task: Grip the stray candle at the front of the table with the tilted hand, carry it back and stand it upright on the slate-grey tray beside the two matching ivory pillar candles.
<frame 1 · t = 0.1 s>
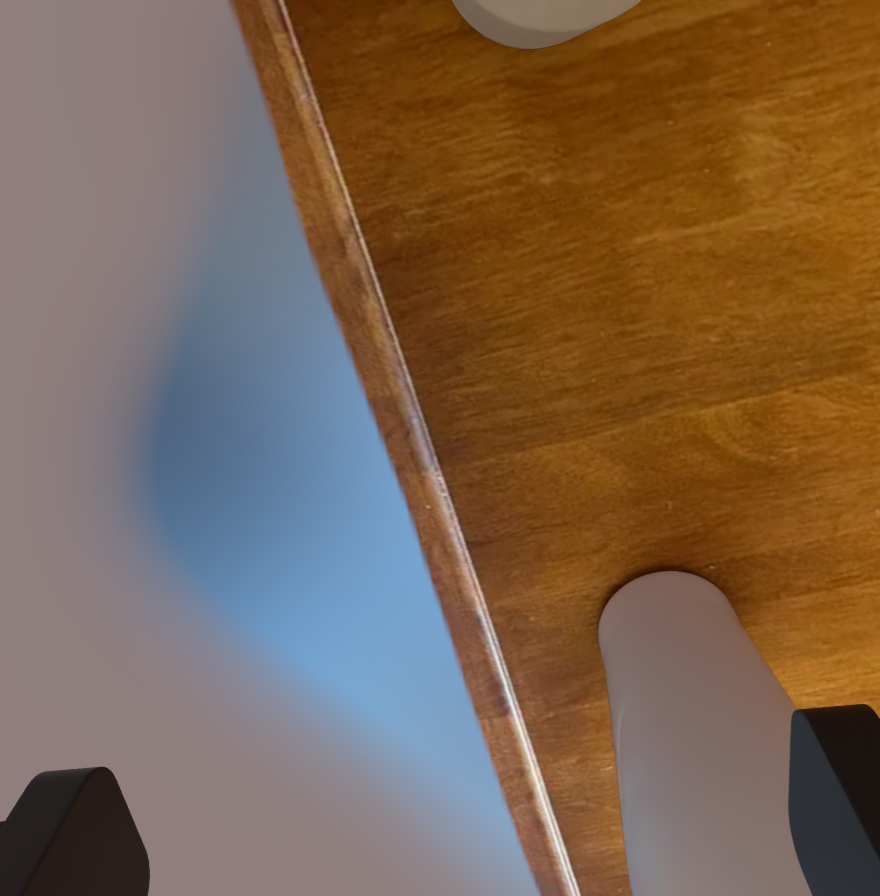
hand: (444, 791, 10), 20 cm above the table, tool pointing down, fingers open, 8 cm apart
drinking glass: (661, 618, 33), on the table
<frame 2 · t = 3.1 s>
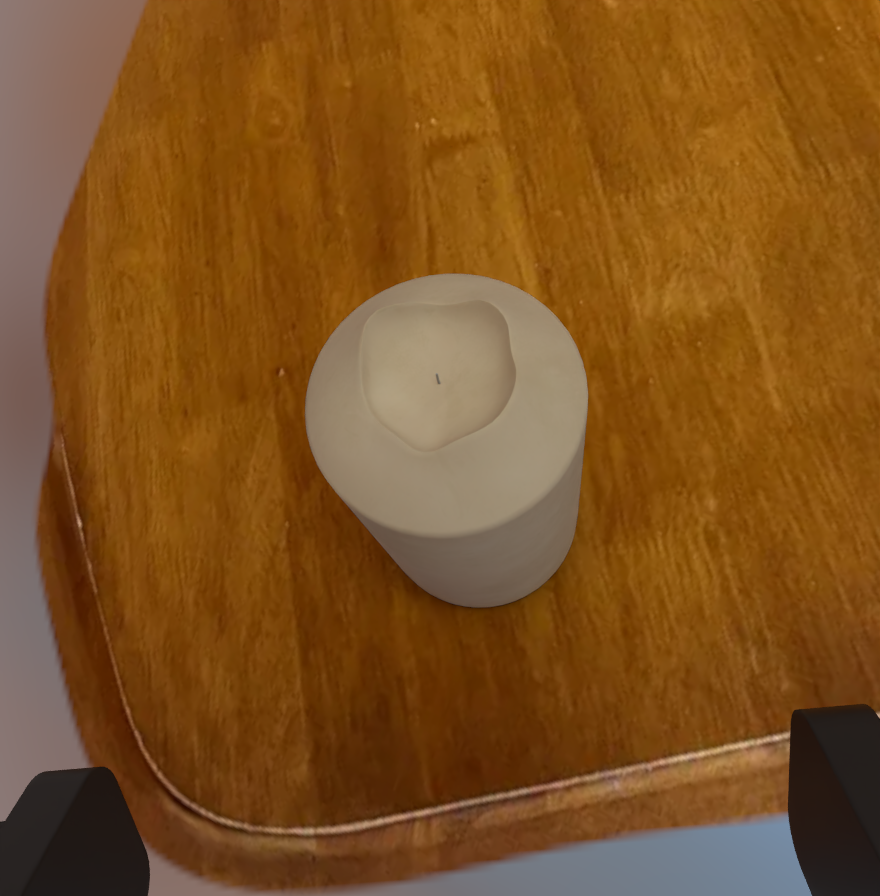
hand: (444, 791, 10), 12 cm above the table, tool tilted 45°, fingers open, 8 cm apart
candle: (481, 516, 24), on the table
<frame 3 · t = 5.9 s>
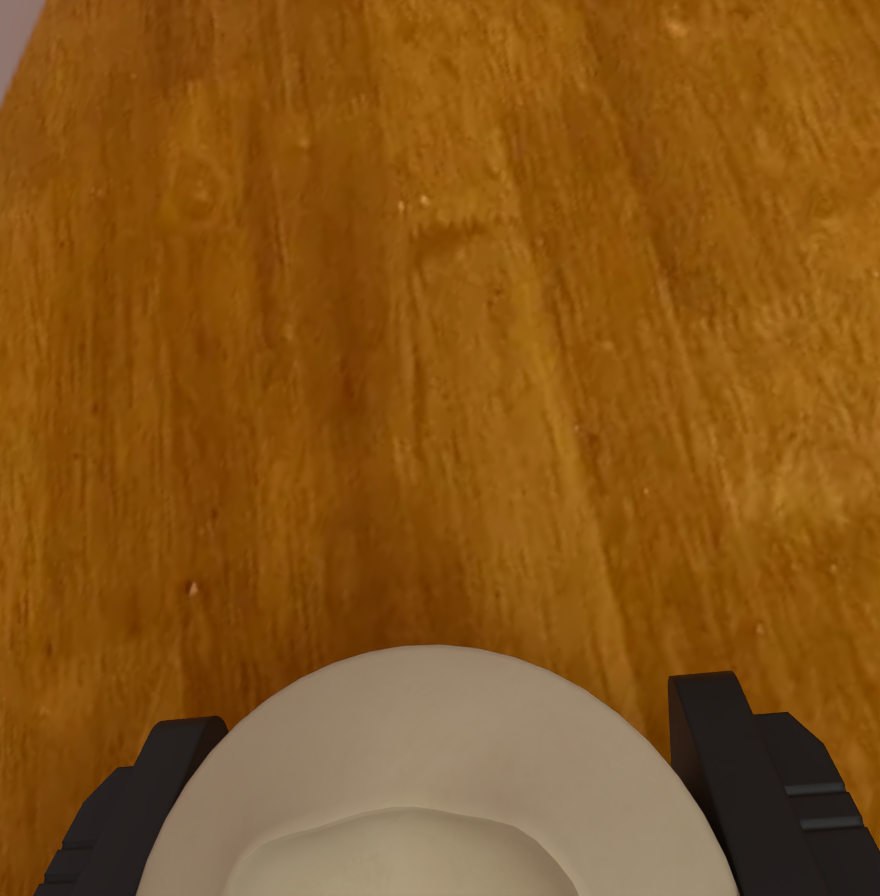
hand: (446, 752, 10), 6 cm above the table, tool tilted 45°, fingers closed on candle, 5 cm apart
candle: (494, 853, 15), on the table, touching gripper
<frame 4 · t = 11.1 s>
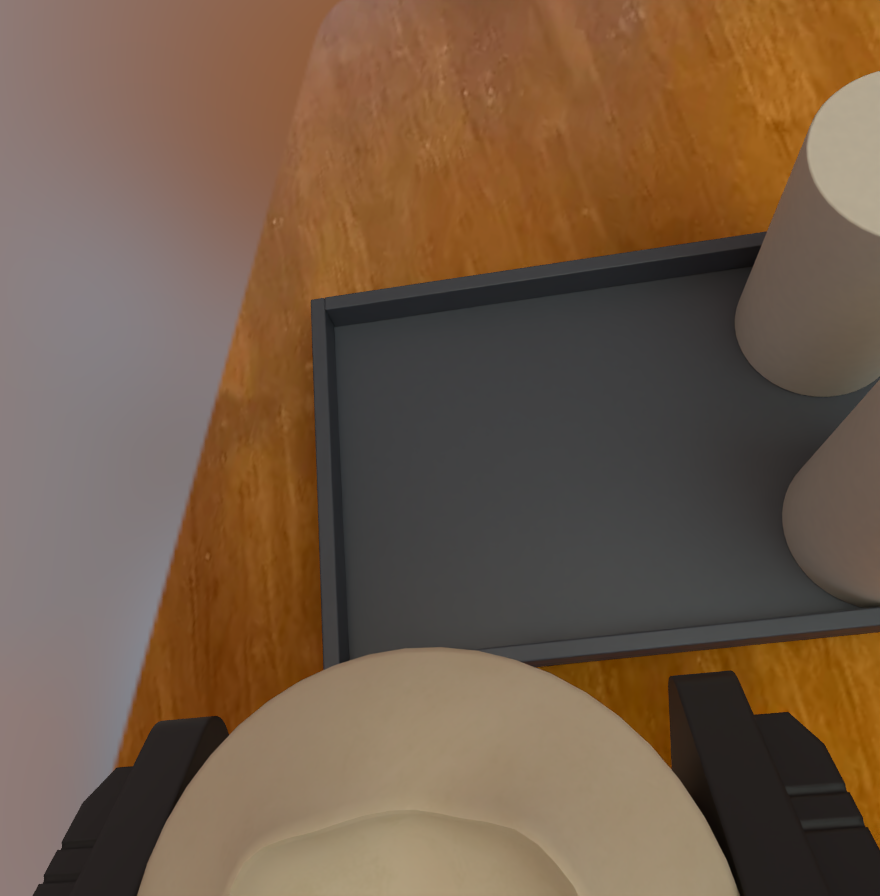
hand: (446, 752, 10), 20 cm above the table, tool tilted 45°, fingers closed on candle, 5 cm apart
tray: (648, 452, 32), on the table
ivory candle b: (815, 326, 32), point 1 cm above the table, touching tray
ivory candle a: (871, 524, 29), point 1 cm above the table, touching tray
candle: (495, 854, 15), point 14 cm above the table, touching gripper
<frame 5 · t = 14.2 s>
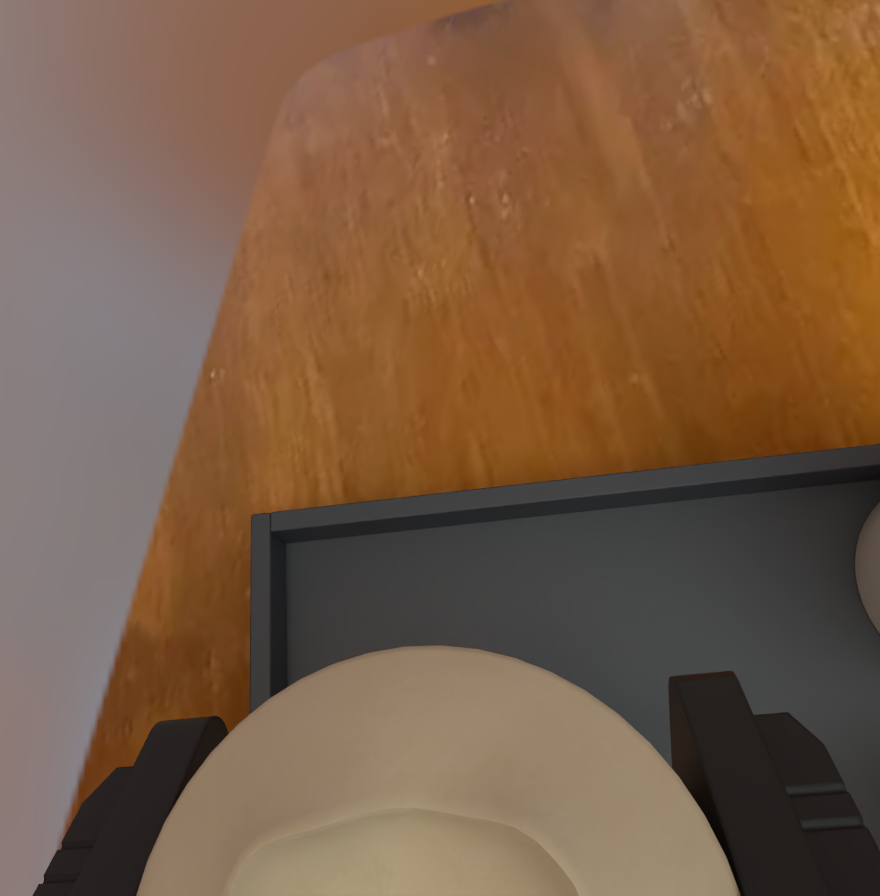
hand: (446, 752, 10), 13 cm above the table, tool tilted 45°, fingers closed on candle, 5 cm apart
tray: (730, 757, 22), on the table
candle: (495, 853, 15), point 8 cm above the table, touching gripper
when the fingers open (7 cm above the table, at t = 16.6 s): candle stays where it is, resting on tray.
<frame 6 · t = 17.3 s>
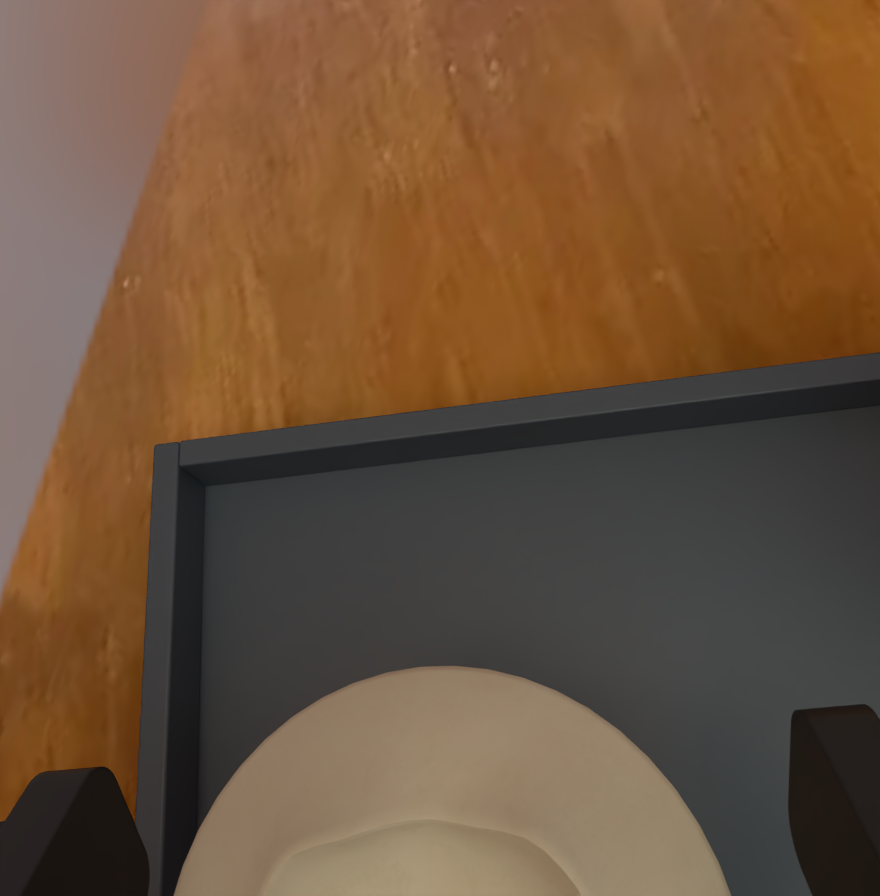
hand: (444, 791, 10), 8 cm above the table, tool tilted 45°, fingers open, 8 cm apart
tray: (799, 765, 16), on the table
candle: (502, 856, 16), point 1 cm above the table, touching tray
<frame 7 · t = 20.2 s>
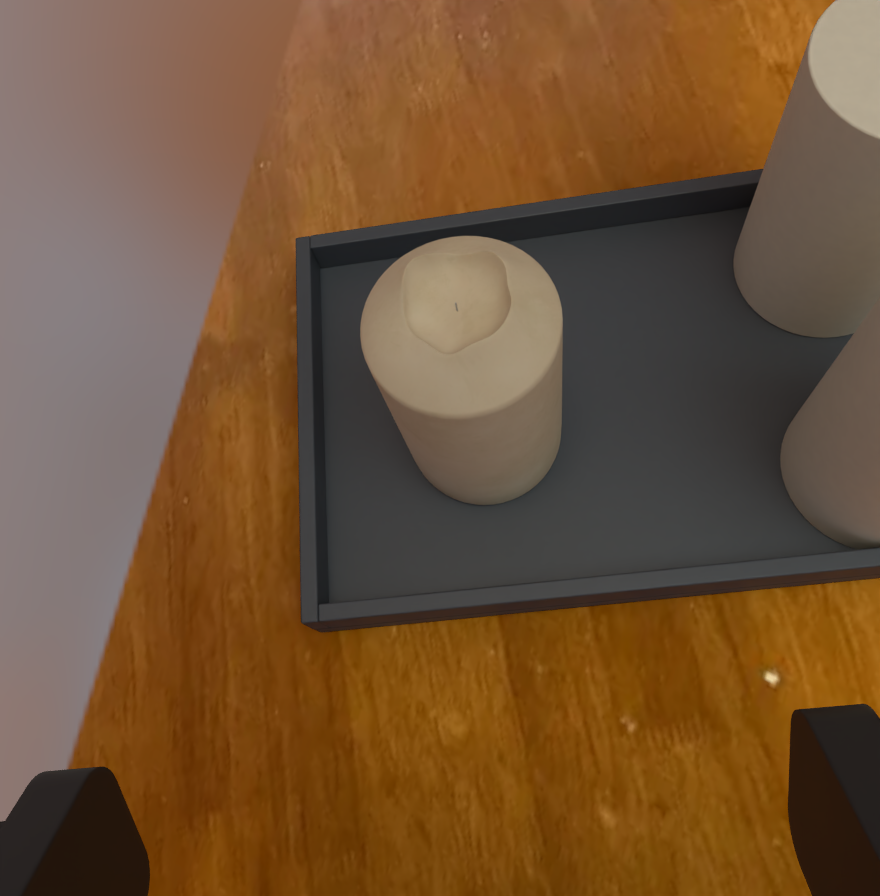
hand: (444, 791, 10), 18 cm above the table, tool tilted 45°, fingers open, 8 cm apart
tray: (642, 395, 30), on the table
ivory candle b: (816, 267, 30), point 1 cm above the table, touching tray
ivory candle a: (873, 467, 28), point 1 cm above the table, touching tray
candle: (486, 437, 30), point 1 cm above the table, touching tray
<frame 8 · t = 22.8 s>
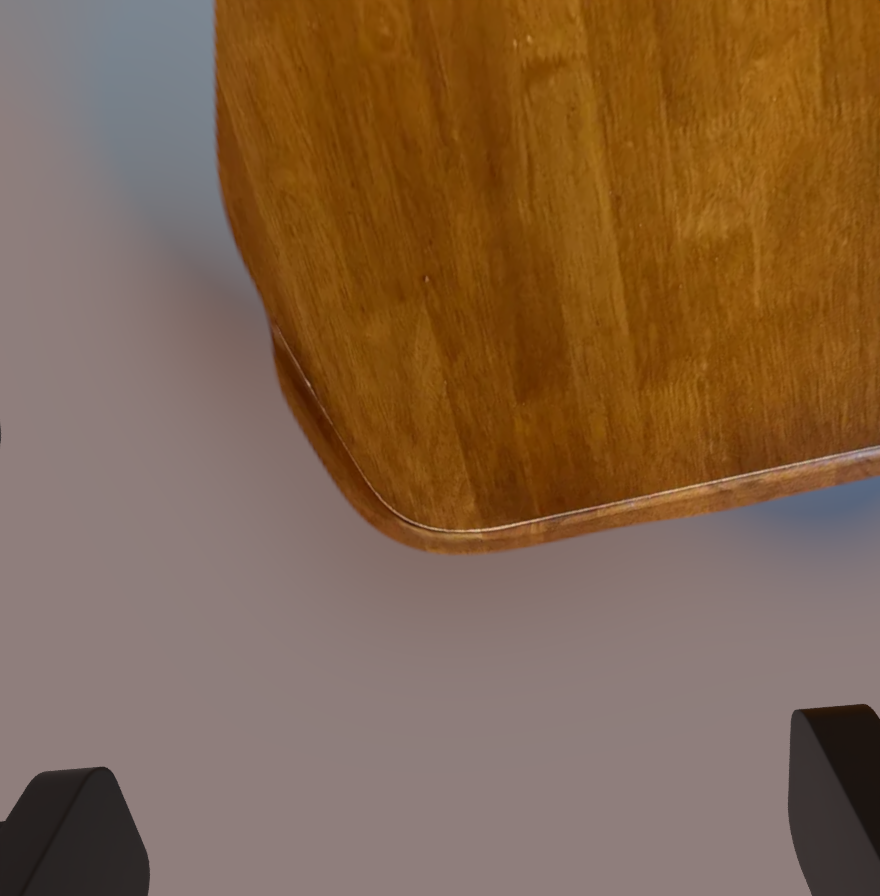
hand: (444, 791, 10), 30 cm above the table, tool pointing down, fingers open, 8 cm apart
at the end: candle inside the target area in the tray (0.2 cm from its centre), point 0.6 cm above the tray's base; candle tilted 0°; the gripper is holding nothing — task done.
